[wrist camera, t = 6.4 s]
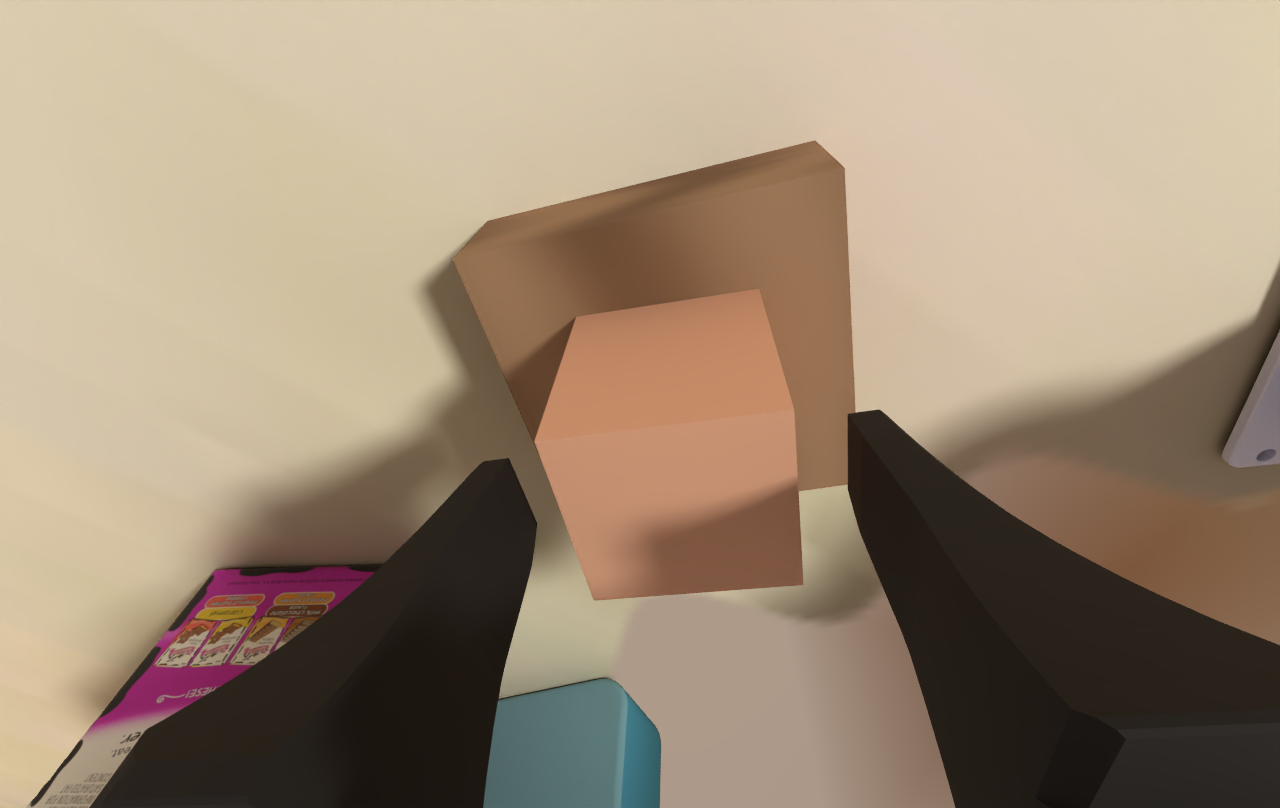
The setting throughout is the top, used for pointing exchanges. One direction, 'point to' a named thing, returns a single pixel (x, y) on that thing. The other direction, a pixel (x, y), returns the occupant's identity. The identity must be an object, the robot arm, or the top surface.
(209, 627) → the candy bar box
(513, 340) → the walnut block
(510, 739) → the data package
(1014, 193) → the top surface
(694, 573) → the terracotta block
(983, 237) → the top surface
